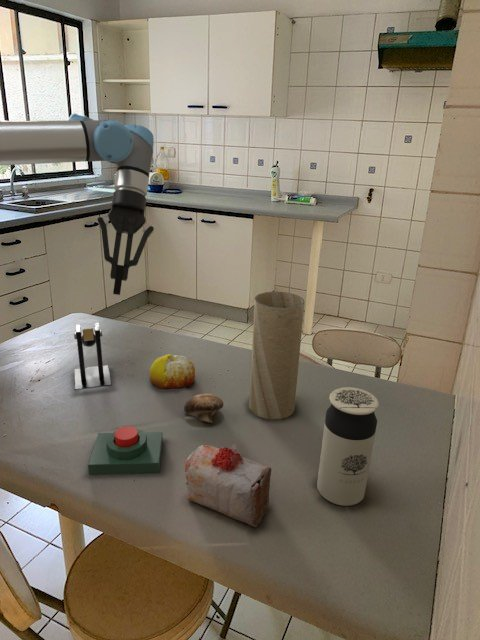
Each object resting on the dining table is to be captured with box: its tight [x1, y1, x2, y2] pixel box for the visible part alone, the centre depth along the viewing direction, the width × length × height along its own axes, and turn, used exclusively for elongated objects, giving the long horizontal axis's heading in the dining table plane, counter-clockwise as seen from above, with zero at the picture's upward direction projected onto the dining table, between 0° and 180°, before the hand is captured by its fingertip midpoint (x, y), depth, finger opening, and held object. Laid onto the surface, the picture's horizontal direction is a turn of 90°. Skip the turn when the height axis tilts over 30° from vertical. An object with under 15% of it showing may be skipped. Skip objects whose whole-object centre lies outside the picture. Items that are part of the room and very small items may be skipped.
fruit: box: [149, 353, 196, 390], centre depth 109 cm, size 11×10×8 cm
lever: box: [82, 327, 96, 348], centre depth 110 cm, size 13×4×4 cm, turn 19°
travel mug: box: [316, 386, 380, 507], centre depth 75 cm, size 8×8×18 cm
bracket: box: [73, 322, 112, 391], centre depth 107 cm, size 10×8×14 cm
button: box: [115, 425, 138, 447], centre depth 83 cm, size 4×4×2 cm
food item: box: [184, 444, 272, 529], centre depth 74 cm, size 14×8×10 cm, turn 63°
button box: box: [87, 427, 164, 476], centre depth 84 cm, size 12×9×4 cm
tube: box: [248, 291, 305, 420], centre depth 97 cm, size 10×10×25 cm
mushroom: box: [183, 393, 224, 424], centre depth 96 cm, size 8×8×6 cm
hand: (116, 293), depth 106 cm, fingers closed
